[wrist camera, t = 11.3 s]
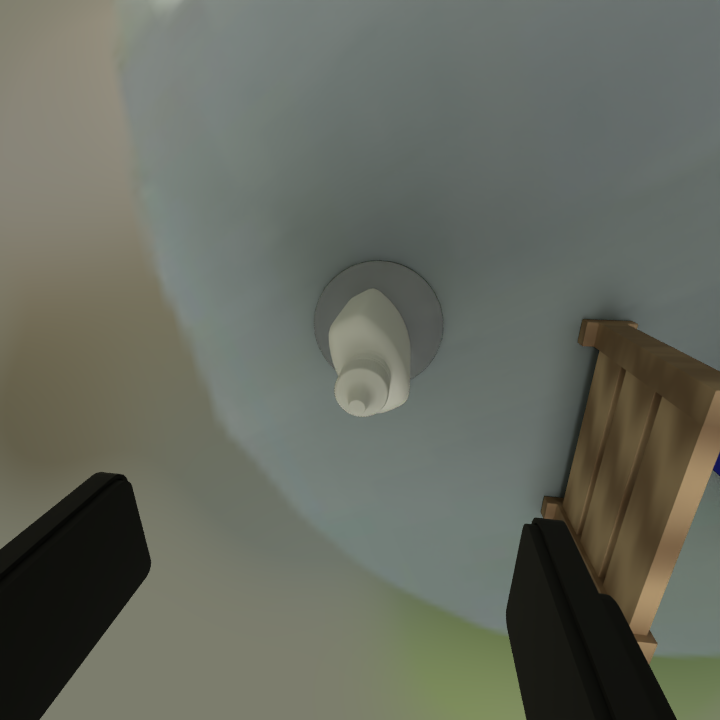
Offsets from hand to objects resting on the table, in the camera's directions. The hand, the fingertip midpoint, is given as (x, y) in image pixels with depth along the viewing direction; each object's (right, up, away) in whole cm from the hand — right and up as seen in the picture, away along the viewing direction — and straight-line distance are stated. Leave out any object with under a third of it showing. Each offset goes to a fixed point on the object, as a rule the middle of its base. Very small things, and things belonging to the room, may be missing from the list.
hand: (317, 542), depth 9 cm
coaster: (+2, +7, +18) cm, 20 cm away
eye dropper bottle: (+2, +7, +18) cm, 19 cm away
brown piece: (+17, -1, +19) cm, 25 cm away
